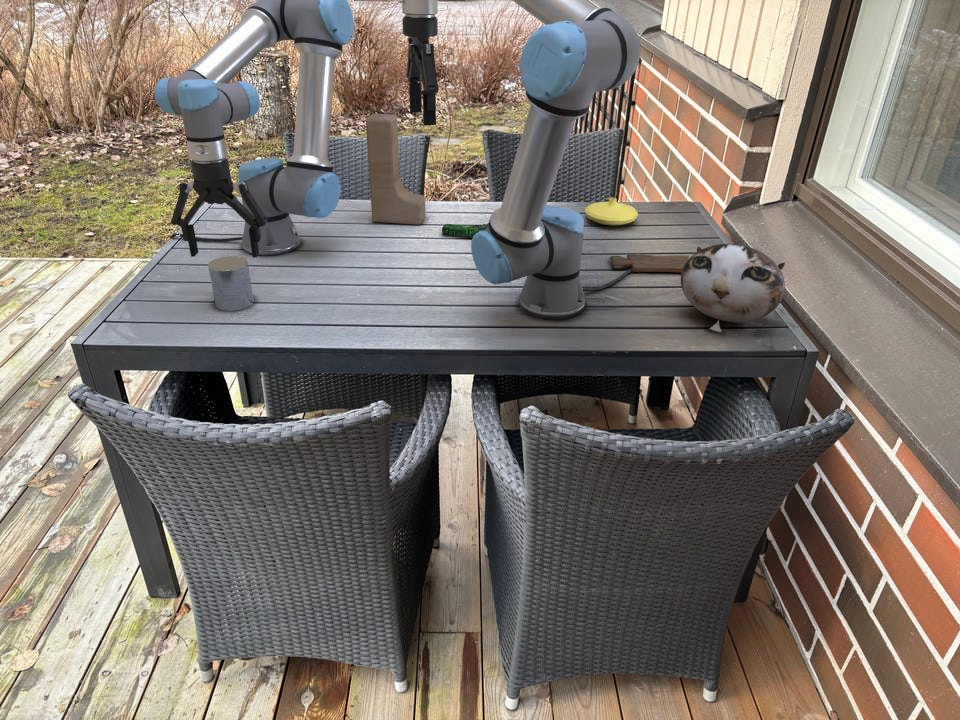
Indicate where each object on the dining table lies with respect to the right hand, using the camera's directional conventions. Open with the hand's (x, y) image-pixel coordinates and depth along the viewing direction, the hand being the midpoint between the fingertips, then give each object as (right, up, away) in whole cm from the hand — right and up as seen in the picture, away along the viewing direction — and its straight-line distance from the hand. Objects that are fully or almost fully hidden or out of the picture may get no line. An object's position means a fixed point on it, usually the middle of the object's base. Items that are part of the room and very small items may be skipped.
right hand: (422, 118), depth 163 cm
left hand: (-44, -32, -3) cm, 54 cm away
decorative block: (-11, -13, +53) cm, 55 cm away
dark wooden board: (+61, -31, +25) cm, 72 cm away
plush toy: (+69, -46, 0) cm, 83 cm away
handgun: (+12, -18, +45) cm, 50 cm away
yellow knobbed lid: (+53, -13, +54) cm, 77 cm away
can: (-44, -42, +3) cm, 61 cm away
